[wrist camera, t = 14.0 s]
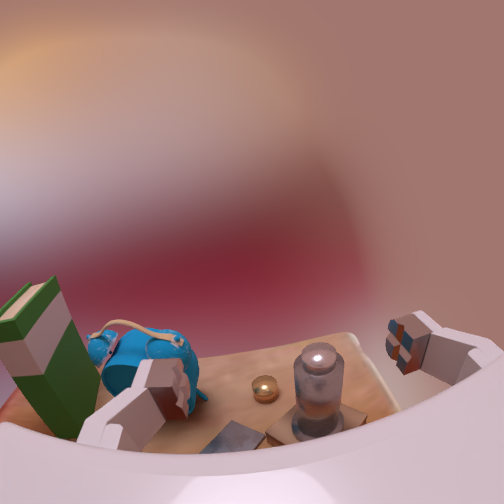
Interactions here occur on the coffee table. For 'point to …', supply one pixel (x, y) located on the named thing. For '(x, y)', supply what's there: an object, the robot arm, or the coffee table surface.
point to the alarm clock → (140, 355)
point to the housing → (318, 392)
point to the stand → (283, 430)
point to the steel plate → (234, 440)
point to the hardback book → (48, 358)
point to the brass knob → (265, 389)
